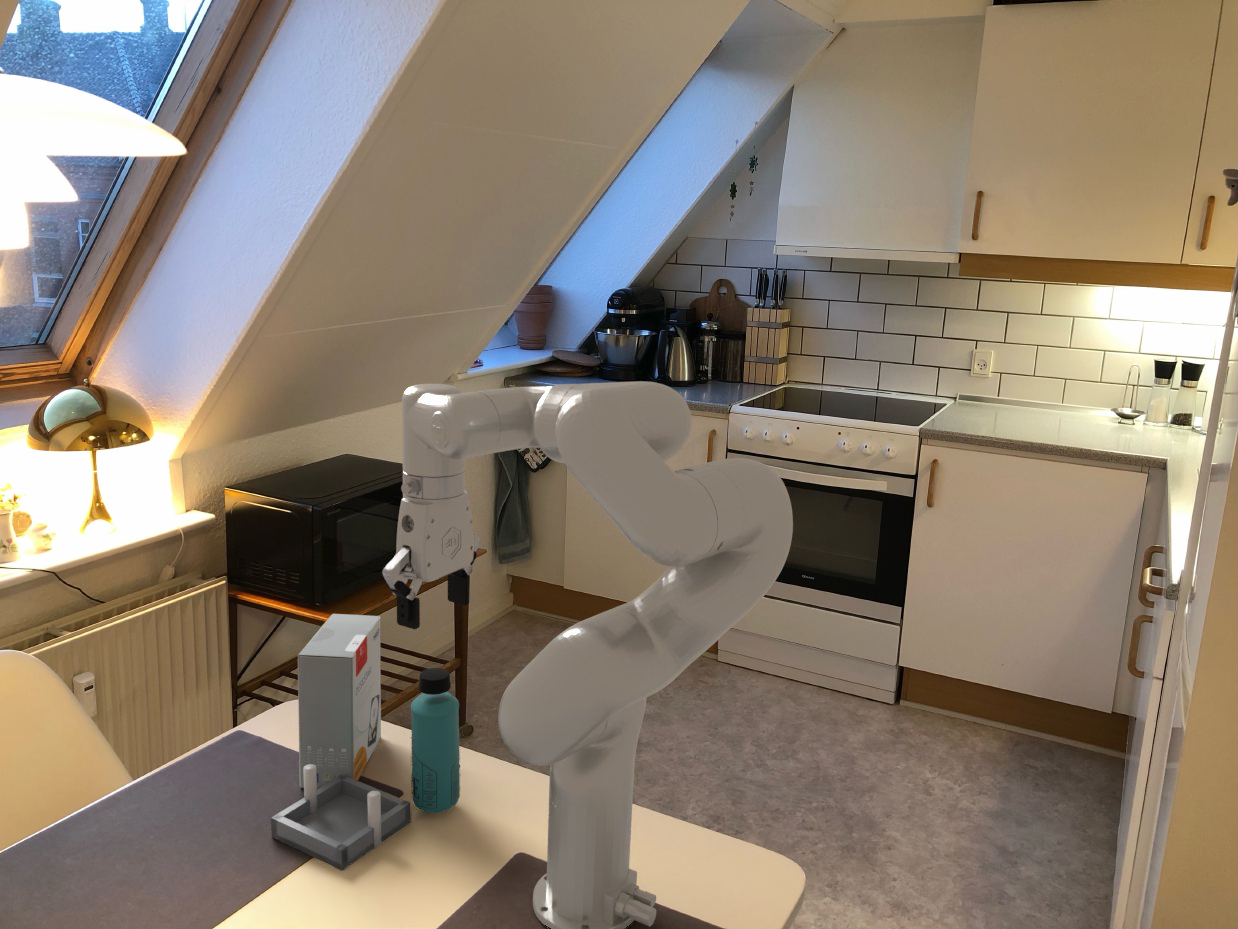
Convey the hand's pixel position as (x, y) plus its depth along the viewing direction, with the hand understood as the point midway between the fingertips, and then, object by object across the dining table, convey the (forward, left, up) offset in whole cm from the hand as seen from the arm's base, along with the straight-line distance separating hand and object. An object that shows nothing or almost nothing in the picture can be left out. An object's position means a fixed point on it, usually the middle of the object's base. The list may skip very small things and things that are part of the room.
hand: (434, 614), depth 126 cm
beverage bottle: (0, 0, -28) cm, 28 cm away
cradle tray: (+7, +10, -28) cm, 30 cm away
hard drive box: (+19, -2, -28) cm, 34 cm away
